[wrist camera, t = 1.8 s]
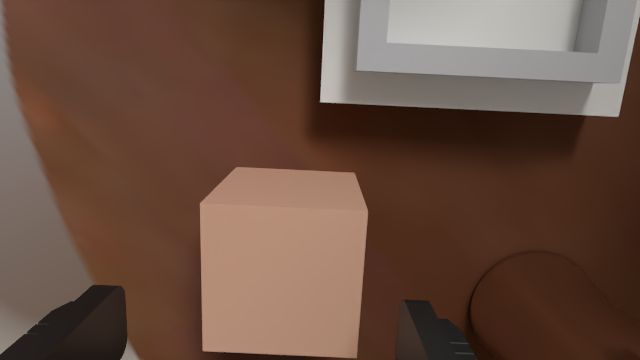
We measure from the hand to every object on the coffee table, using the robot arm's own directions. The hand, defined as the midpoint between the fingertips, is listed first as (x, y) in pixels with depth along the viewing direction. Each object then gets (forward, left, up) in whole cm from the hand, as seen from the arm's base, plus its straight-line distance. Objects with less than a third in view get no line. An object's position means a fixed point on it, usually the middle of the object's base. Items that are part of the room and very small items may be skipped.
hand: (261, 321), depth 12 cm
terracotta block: (0, 0, -8) cm, 8 cm away
